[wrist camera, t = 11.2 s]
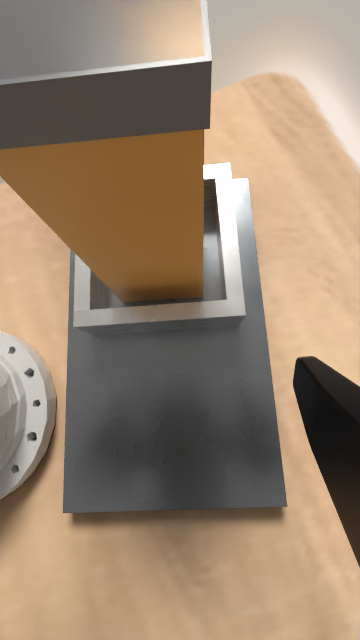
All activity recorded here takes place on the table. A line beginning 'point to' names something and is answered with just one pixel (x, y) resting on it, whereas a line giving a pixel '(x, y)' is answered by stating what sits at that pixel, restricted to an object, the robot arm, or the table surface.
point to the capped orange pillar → (111, 133)
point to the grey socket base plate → (175, 382)
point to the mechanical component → (23, 411)
